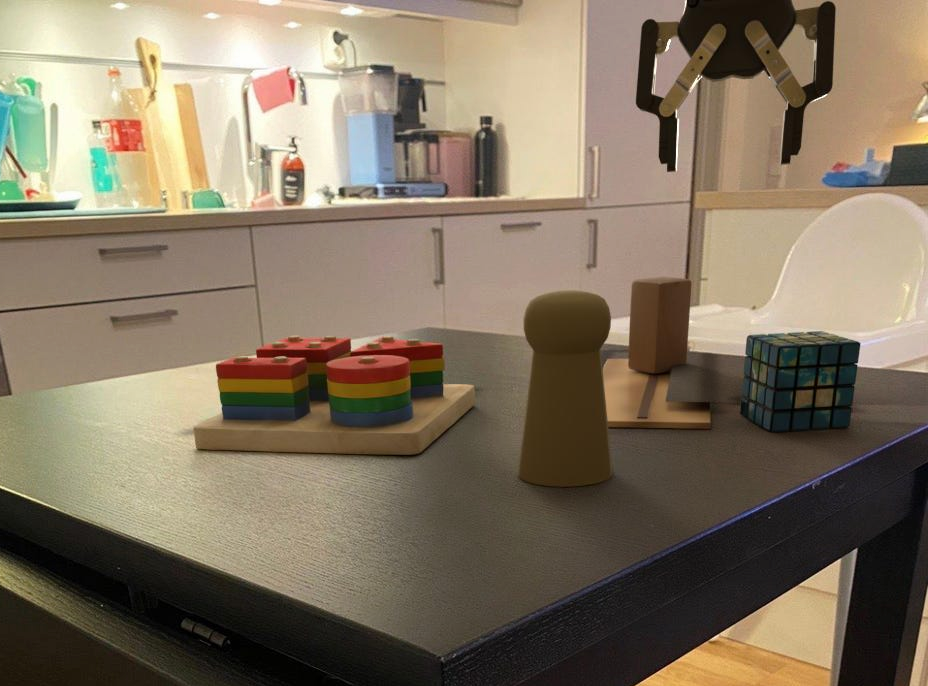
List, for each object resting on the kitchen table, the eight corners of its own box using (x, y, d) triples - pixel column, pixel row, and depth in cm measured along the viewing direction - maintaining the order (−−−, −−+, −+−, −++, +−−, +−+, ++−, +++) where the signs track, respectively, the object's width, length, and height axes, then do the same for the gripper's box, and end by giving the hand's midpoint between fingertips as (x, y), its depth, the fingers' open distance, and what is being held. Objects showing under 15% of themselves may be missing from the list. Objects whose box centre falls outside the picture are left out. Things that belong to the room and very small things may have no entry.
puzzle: (739, 415, 75) (746, 334, 73) (813, 410, 76) (823, 330, 73) (770, 432, 70) (779, 346, 67) (850, 427, 70) (862, 342, 68)
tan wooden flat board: (709, 363, 96) (710, 357, 96) (710, 429, 71) (710, 421, 71) (607, 363, 98) (607, 357, 98) (574, 426, 74) (574, 418, 73)
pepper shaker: (498, 476, 62) (495, 294, 57) (555, 456, 66) (557, 285, 61) (575, 492, 58) (579, 299, 54) (631, 470, 62) (639, 288, 57)
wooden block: (687, 370, 90) (693, 278, 87) (654, 375, 88) (659, 282, 85) (658, 364, 93) (663, 276, 90) (625, 369, 91) (629, 279, 88)
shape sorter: (287, 401, 87) (280, 330, 84) (476, 404, 82) (475, 330, 80) (192, 449, 72) (180, 365, 69) (418, 456, 67) (414, 366, 65)
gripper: (842, -83, 71) (819, 163, 78) (644, -60, 75) (638, 174, 81) (855, -110, 64) (828, 161, 71) (637, -83, 68) (631, 173, 75)
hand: (727, 168), depth 76 cm, fingers open, 8 cm apart
